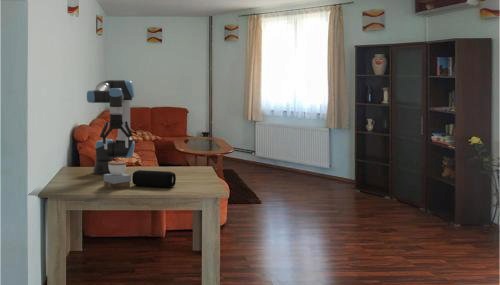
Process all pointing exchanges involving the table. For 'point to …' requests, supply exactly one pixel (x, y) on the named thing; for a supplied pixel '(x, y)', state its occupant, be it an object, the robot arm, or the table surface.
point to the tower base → (117, 185)
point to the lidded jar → (117, 167)
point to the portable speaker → (154, 178)
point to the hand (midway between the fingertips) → (116, 148)
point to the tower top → (117, 178)
